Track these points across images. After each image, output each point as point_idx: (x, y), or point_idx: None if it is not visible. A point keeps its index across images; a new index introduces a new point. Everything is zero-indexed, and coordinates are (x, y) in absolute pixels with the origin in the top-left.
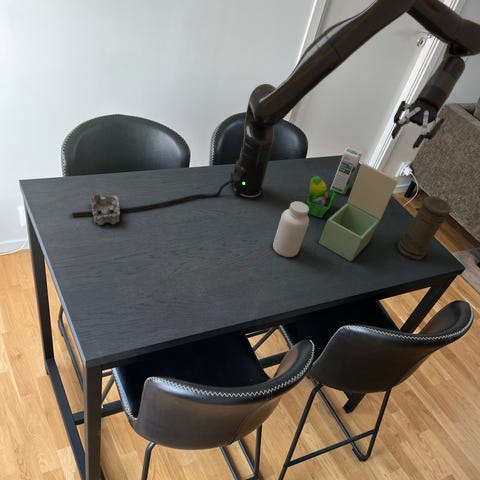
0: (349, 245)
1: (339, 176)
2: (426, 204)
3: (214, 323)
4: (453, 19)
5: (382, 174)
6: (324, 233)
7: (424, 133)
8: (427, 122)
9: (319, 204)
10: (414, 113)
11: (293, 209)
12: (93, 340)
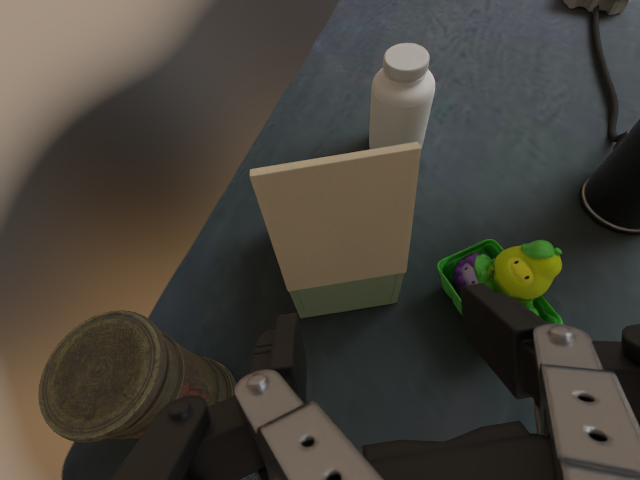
0: None
1: None
2: (143, 318)
3: (336, 15)
4: None
5: (317, 159)
6: None
7: (252, 376)
8: (276, 452)
9: (465, 260)
10: (568, 445)
11: (405, 43)
12: None
